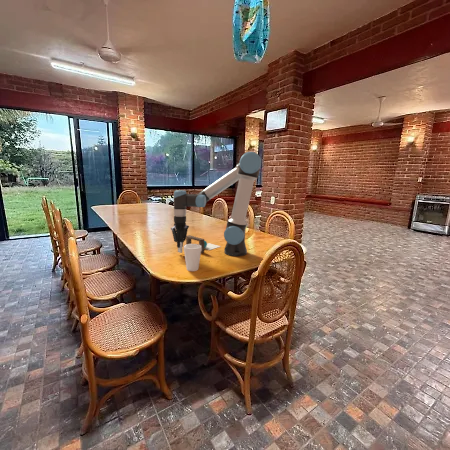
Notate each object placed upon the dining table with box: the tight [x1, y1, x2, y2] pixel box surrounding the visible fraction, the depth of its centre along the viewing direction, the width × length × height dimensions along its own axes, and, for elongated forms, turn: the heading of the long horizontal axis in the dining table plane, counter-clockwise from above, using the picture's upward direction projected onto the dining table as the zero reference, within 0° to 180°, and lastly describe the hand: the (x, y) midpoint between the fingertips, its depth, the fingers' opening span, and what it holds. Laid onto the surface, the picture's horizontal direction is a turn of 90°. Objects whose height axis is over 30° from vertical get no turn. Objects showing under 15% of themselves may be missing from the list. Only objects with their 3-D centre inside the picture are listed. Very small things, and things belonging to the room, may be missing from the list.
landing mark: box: [204, 242, 222, 251], centre depth 176 cm, size 12×12×1 cm
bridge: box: [185, 234, 205, 254], centre depth 165 cm, size 3×14×9 cm, turn 50°
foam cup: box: [183, 243, 202, 272], centre depth 132 cm, size 10×9×13 cm
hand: (180, 252), depth 155 cm, fingers closed
